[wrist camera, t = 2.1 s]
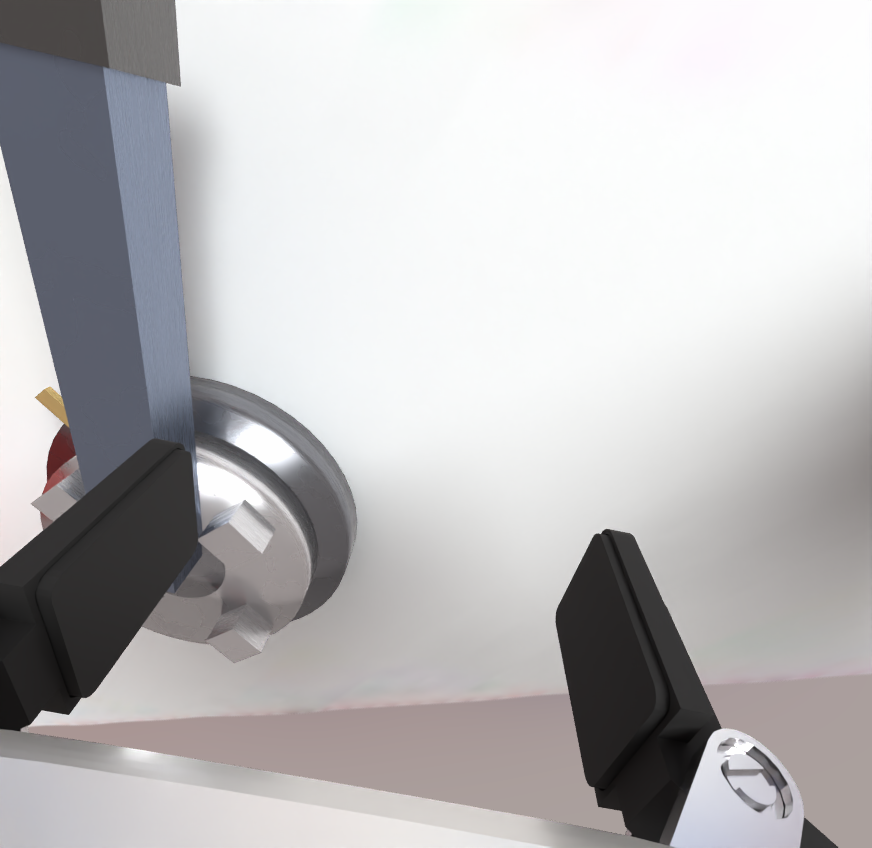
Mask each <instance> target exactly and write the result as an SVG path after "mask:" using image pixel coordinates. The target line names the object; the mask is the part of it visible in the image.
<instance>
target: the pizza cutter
mask: <svg viewBox="0 0 872 848" xmlns="http://www.w3.org/2000/svg"><path fill="white" fill-rule="evenodd" d="M166 83H168V84H172V85H177V86H181V82H180V67H179V52H178V38H177V23H176V9H175V0H0V146H1V150H2V154H3V158H4V162H5V166H6V170H7V174H8V178H9V183H10V187H11V191H12V195H13V199H14V203H15V207H16V211H17V215H18V219H19V223H20V228H21V232H22V236H23V240H24V244H25V248H26V252H27V256H28V260H29V264H30V268H31V272H32V277H33V281H34V285H35V289H36V293H37V297H38V301H39V305H40V309H41V313H42V317H43V322H44V326H45V330H46V334H47V338H48V342H49V346H50V350H51V354H52V358H53V362H54V367H55V371H56V375H57V379H58V383H59V387H60V391H61V395H62V399H63V403H64V407H65V411H66V416H67V420H68V424H69V428H70V432H71V436H72V440H73V444H74V448H75V452H76V456H75V457H73V458H72V459H70V460H69V461H68V462H66V463H65V464H63V465H62V466H61V467H60V468H59V469H58V470H57V471H56V472H55V473H53V475H52V476H51V478H50V479H49V481H48V482H47V483H46V486H45V488H44V491H43V493H42V496H40V497H39V498H38V499H36V500H35V501H34V502H32V503H31V504H32V505H33V506H34V507H35V508H37V509H38V510H39V511H40V514H41V522H42V527H43V530H44V529H46V528H47V527H48V526H49V525H50V524H52V523H53V522H54V521H55V520H56V519H57V518H59V517H60V516H61V515H62V514H63V513H64V512H66V511H67V510H68V509H69V508H70V507H72V506H73V505H74V504H75V503H76V502H77V501H79V500H80V499H81V498H82V497H83V496H85V495H86V494H87V493H88V492H89V491H90V490H92V489H93V488H94V487H95V486H96V485H98V484H99V483H100V482H101V481H102V480H103V479H105V478H106V477H107V476H108V475H109V474H111V473H112V472H113V471H114V470H115V469H116V468H118V467H119V466H120V465H121V464H122V463H123V462H125V461H126V460H127V459H128V458H129V457H131V456H132V455H133V454H134V453H135V452H136V451H138V450H139V449H140V448H141V447H142V446H144V445H145V444H146V443H147V442H148V441H150V440H151V439H154V438H157V439H162V440H167V441H172V442H177V443H181V444H183V446H184V447H185V451H188V452H190V453H191V456H192V467H193V479H194V492H195V505H196V518H197V531H198V543H197V547H196V550H195V552H194V554H193V555H192V557H191V558H190V560H189V561H188V562H187V564H186V565H185V567H184V568H183V569H182V571H181V572H180V573H179V575H178V576H177V578H176V579H175V580H174V582H173V583H172V585H171V586H170V587H169V589H168V590H167V592H166V593H165V594H164V596H163V597H162V599H161V600H160V601H159V603H158V604H157V606H156V607H155V608H154V610H153V611H152V613H151V614H150V615H149V617H148V618H147V620H146V621H145V622H144V624H143V625H142V627H145V628H147V629H150V630H152V631H154V632H157V633H160V634H163V635H166V636H169V637H173V638H177V639H181V640H185V641H191V642H196V643H204V644H210V645H212V646H213V647H214V648H216V649H217V650H218V651H219V652H221V653H222V654H223V655H225V656H226V657H227V658H228V659H230V660H231V661H232V662H233V663H236V662H238V661H241V660H243V659H246V658H249V657H251V656H254V655H256V654H259V653H261V652H262V650H263V648H264V645H265V643H266V641H267V639H268V637H269V636H270V635H272V634H274V633H276V632H278V631H279V630H280V629H282V628H283V627H285V626H286V625H287V624H288V623H289V622H290V621H291V620H292V619H293V618H294V617H295V615H296V614H297V612H298V611H299V609H300V607H301V604H302V602H303V599H304V597H305V595H306V592H307V590H308V588H309V585H310V583H311V580H312V578H313V575H314V573H315V571H316V567H317V562H318V541H317V536H316V532H315V529H314V526H313V523H312V521H311V519H310V517H309V515H308V513H307V511H306V509H305V507H304V506H303V504H302V503H301V501H300V500H299V498H298V497H297V495H296V494H295V493H294V492H293V491H292V489H291V488H290V487H289V486H288V485H287V484H286V483H285V482H284V481H283V480H282V479H281V478H280V477H279V476H278V475H277V474H276V473H275V472H274V471H273V470H271V469H270V468H269V467H267V466H266V465H265V464H264V463H262V462H261V461H260V460H258V459H257V458H255V457H254V456H252V455H250V454H249V453H247V452H245V451H244V450H242V449H240V448H238V447H236V446H234V445H232V444H230V443H228V442H226V441H224V440H222V439H219V438H216V437H214V436H211V435H209V434H206V433H202V432H198V431H195V430H194V421H193V409H192V396H191V384H190V372H189V359H188V347H187V335H186V323H185V310H184V298H183V286H182V274H181V261H180V249H179V237H178V225H177V212H176V200H175V188H174V176H173V163H172V151H171V139H170V126H169V114H168V102H167V90H166Z"/></svg>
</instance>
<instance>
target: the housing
mask: <svg viewBox="0 0 872 848" xmlns="http://www.w3.org/2000/svg"><path fill="white" fill-rule="evenodd" d="M190 384H191V396H192V409H193V421H194V430H195V431H198V432H202V433H206V434H209V435H211V436H214V437H216V438H219V439H222V440H224V441H226V442H228V443H230V444H232V445H234V446H236V447H238V448H240V449H242V450H244V451H245V452H247V453H249V454H250V455H252V456H254V457H255V458H257V459H258V460H260V461H261V462H262V463H264V464H265V465H266V466H267V467H269V468H270V469H271V470H273V471H274V472H275V473H276V474H277V475H278V476H279V477H280V478H281V479H282V480H283V481H284V482H285V483H286V484H287V485H288V486H289V487H290V488H291V489H292V491H293V492H294V493H295V494H296V495H297V497H298V498H299V500H300V501H301V503H302V504H303V506H304V507H305V509H306V511H307V513H308V515H309V517H310V519H311V521H312V523H313V526H314V529H315V532H316V536H317V541H318V562H317V567H316V571H315V573H314V575H313V578H312V580H311V583H310V585H309V588H308V590H307V592H306V595H305V597H304V599H303V602H302V604H301V607H300V609H299V611H298V612H297V614H296V615H295V617H294V618H293V619H292V620H291V621H293V620H296V619H299V618H301V617H303V616H305V615H307V614H309V613H311V612H313V611H314V610H316V609H317V608H319V607H320V606H322V605H323V604H324V603H325V602H326V601H327V600H328V599H329V598H330V597H331V596H332V594H333V593H334V592H335V590H336V589H337V587H338V586H339V584H340V582H341V579H342V577H343V575H344V572H345V569H346V567H347V564H348V561H349V558H350V555H351V552H352V549H353V546H354V542H355V538H356V530H357V517H356V507H355V503H354V500H353V496H352V492H351V490H350V487H349V485H348V483H347V480H346V478H345V476H344V474H343V473H342V471H341V469H340V468H339V466H338V464H337V463H336V461H335V459H334V458H333V457H332V456H331V454H330V453H329V452H328V451H327V449H326V448H325V447H324V445H323V444H322V443H321V442H320V441H319V440H318V439H317V438H316V437H315V436H314V435H313V434H312V433H311V432H310V431H309V430H308V429H307V428H305V427H304V426H303V425H302V424H301V423H299V422H298V421H297V420H296V419H294V418H293V417H292V416H290V415H289V414H287V413H286V412H284V411H283V410H281V409H280V408H278V407H277V406H275V405H274V404H272V403H270V402H268V401H266V400H264V399H262V398H260V397H259V396H257V395H255V394H252V393H250V392H247V391H245V390H242V389H240V388H237V387H235V386H232V385H229V384H225V383H221V382H218V381H214V380H210V379H204V378H198V377H192V376H190ZM35 398H36V399H37V400H38V401H39V402H41V403H42V404H43V405H44V406H45V407H46V408H47V409H48V410H50V411H51V412H52V413H53V414H54V415H55V416H56V417H58V418H59V419H60V420H61V421H62V422H63V423H64V425H63V426H62V427H61V428H60V430H59V432H58V433H57V435H56V436H55V438H54V440H53V442H52V445H51V448H50V450H49V454H48V461H47V482H48V481H49V479H50V478H51V476H52V475H53V473H55V472H56V471H57V470H58V469H59V468H60V467H61V466H62V465H63V464H65V463H66V462H68V461H69V460H70V459H72V458H73V457H75V456H76V452H75V448H74V444H73V440H72V436H71V432H70V428H69V424H68V420H67V416H66V411H65V407H64V403H63V399H62V397H61V396H60V395H59V394H58V393H57V392H56V391H54V390H53V389H52V388H51V387H48V388H46V389H44V390H43V391H42V392H41V393H40V394H38V395H37V396H36V397H35Z"/></svg>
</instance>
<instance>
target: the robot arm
mask: <svg viewBox="0 0 872 848" xmlns="http://www.w3.org/2000/svg"><path fill="white" fill-rule="evenodd" d="M197 543H198V531H197V518H196V505H195V492H194V479H193V467H192V456H191V453H190V452H188V451H185V447H184V446H183V444H181V443H177V442H172V441H167V440H162V439H157V438H154V439H151V440H150V441H148V442H147V443H146V444H145V445H144V446H142V447H141V448H140V449H139V450H138V451H136V452H135V453H134V454H133V455H132V456H131V457H129V458H128V459H127V460H126V461H125V462H123V463H122V464H121V465H120V466H119V467H118V468H116V469H115V470H114V471H113V472H112V473H111V474H109V475H108V476H107V477H106V478H105V479H103V480H102V481H101V482H100V483H99V484H98V485H96V486H95V487H94V488H93V489H92V490H90V491H89V492H88V493H87V494H86V495H85V496H83V497H82V498H81V499H80V500H79V501H77V502H76V503H75V504H74V505H73V506H72V507H70V508H69V509H68V510H67V511H66V512H64V513H63V514H62V515H61V516H60V517H59V518H57V519H56V520H55V521H54V522H53V523H52V524H50V525H49V526H48V527H47V528H46V529H44V530H43V531H42V532H41V533H40V534H39V535H37V536H36V537H35V538H34V539H33V540H31V541H30V542H29V543H28V544H27V545H26V546H24V547H23V548H22V549H21V550H20V551H18V552H17V553H16V554H15V555H14V556H13V557H11V558H10V559H9V560H8V561H7V562H5V563H4V564H3V565H2V566H1V567H0V848H838V847H837V846H836V845H835V844H834V843H833V842H831V841H830V840H829V839H828V838H827V837H826V836H825V835H824V834H823V833H821V832H820V831H819V830H818V829H817V828H816V827H815V826H813V825H812V824H811V823H810V822H809V821H808V820H807V819H806V818H804V807H803V801H802V798H801V795H800V793H799V790H798V787H797V785H796V784H795V782H794V780H793V779H792V777H791V775H790V774H789V772H788V771H787V769H786V768H785V767H784V766H783V764H782V763H781V762H780V761H779V759H778V758H777V757H776V756H775V755H774V754H773V753H771V751H769V750H768V749H767V748H766V747H765V746H764V745H763V744H762V743H760V742H758V741H757V740H755V739H754V738H752V737H751V736H749V735H748V734H745V733H743V732H740V731H738V730H735V729H726V728H721V726H720V724H719V721H718V719H717V717H716V715H715V713H714V710H713V708H712V706H711V704H710V702H709V700H708V697H707V695H706V693H705V691H704V688H703V686H702V684H701V682H700V680H699V677H698V675H697V673H696V671H695V668H694V666H693V664H692V662H691V660H690V657H689V655H688V653H687V651H686V649H685V646H684V644H683V642H682V640H681V638H680V635H679V633H678V631H677V629H676V627H675V624H674V622H673V620H672V618H671V615H670V613H669V611H668V609H667V607H666V606H665V604H664V602H663V600H662V598H661V595H660V593H659V591H658V589H657V587H656V584H655V582H654V580H653V578H652V576H651V573H650V571H649V569H648V567H647V564H646V562H645V560H644V558H643V556H642V553H641V551H640V549H639V547H638V544H637V542H636V540H635V538H634V537H633V535H632V534H630V533H625V532H620V531H615V530H610V529H605V530H604V531H603V532H602V533H601V534H595V535H594V537H593V538H592V540H591V542H590V544H589V546H588V548H587V550H586V552H585V554H584V556H583V558H582V560H581V562H580V564H579V566H578V568H577V570H576V572H575V574H574V576H573V578H572V580H571V582H570V584H569V586H568V588H567V590H566V592H565V594H564V596H563V598H562V600H561V602H560V604H559V606H558V608H557V612H556V628H557V633H558V638H559V643H560V648H561V654H562V659H563V664H564V669H565V674H566V680H567V685H568V690H569V695H570V700H571V706H572V711H573V716H574V721H575V726H576V732H577V737H578V742H579V747H580V752H581V758H582V763H583V768H584V773H585V777H586V780H587V783H588V784H589V786H591V787H594V788H595V793H596V798H597V803H598V807H602V808H608V809H614V810H620V811H622V814H623V818H624V822H625V827H626V828H627V831H626V833H625V835H621V834H617V833H612V832H606V831H601V830H596V829H591V828H586V827H581V826H576V825H571V824H566V823H561V822H555V821H551V820H546V819H539V818H534V817H529V816H522V815H517V814H512V813H506V812H500V811H495V810H489V809H484V808H478V807H472V806H466V805H460V804H455V803H450V802H444V801H438V800H433V799H427V798H421V797H415V796H410V795H404V794H398V793H393V792H387V791H381V790H375V789H369V788H364V787H358V786H352V785H346V784H340V783H334V782H329V781H322V780H317V779H311V778H305V777H300V776H294V775H288V774H282V773H276V772H270V771H264V770H259V769H252V768H246V767H241V766H235V765H229V764H222V763H216V762H211V761H205V760H199V759H192V758H186V757H181V756H174V755H168V754H162V753H156V752H150V751H144V750H138V749H132V748H126V747H120V746H114V745H108V744H101V743H95V742H88V741H81V740H74V739H68V738H60V737H54V736H46V735H40V734H33V733H28V725H30V724H31V723H32V722H33V721H34V719H35V718H36V717H37V716H38V714H39V713H40V712H41V710H44V711H49V712H55V713H61V714H67V715H69V714H70V713H71V711H72V710H73V709H74V707H75V706H76V705H77V703H78V702H79V700H80V699H81V698H87V697H89V696H90V695H92V694H93V693H94V692H95V690H96V689H97V688H98V687H99V685H100V684H101V682H102V681H103V680H104V678H105V677H106V675H107V674H108V673H109V671H110V670H111V668H112V667H113V666H114V664H115V663H116V661H117V660H118V659H119V657H120V656H121V654H122V653H123V652H124V650H125V649H126V647H127V646H128V645H129V643H130V642H131V640H132V639H133V638H134V636H135V635H136V633H137V632H138V631H139V629H140V628H141V627H142V625H143V624H144V622H145V621H146V620H147V618H148V617H149V615H150V614H151V613H152V611H153V610H154V608H155V607H156V606H157V604H158V603H159V601H160V600H161V599H162V597H163V596H164V594H165V593H166V592H167V590H168V589H169V587H170V586H171V585H172V583H173V582H174V580H175V579H176V578H177V576H178V575H179V573H180V572H181V571H182V569H183V568H184V567H185V565H186V564H187V562H188V561H189V560H190V558H191V557H192V555H193V554H194V552H195V550H196V547H197Z"/></svg>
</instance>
